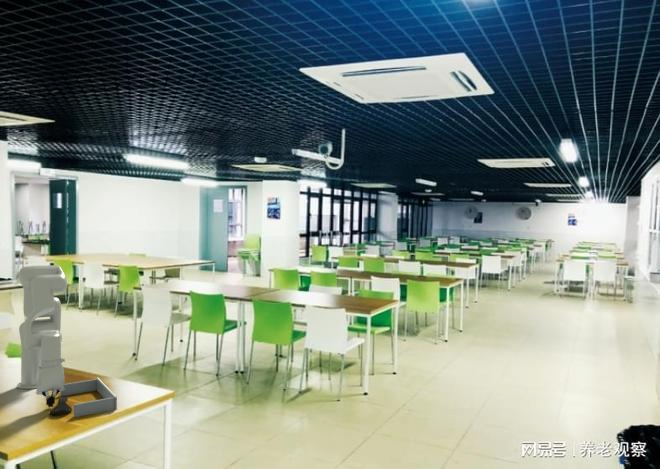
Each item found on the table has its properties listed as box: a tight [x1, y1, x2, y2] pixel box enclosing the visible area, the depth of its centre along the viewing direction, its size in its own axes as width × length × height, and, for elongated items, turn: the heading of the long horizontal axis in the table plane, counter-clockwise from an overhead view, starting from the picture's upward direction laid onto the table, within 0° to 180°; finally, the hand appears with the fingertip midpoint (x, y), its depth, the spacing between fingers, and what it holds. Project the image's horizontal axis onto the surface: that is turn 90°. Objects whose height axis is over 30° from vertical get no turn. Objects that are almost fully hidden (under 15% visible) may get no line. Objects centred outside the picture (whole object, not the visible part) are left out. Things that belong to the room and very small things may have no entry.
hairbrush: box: [49, 396, 73, 415], centre depth 215 cm, size 8×4×25 cm
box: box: [59, 377, 118, 418], centre depth 222 cm, size 32×16×6 cm, turn 37°
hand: (50, 406), depth 213 cm, fingers closed
